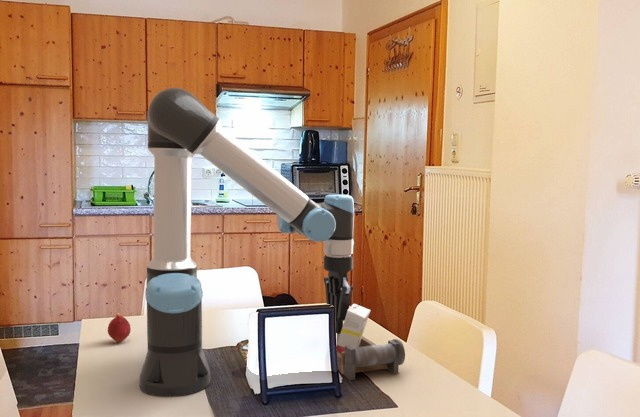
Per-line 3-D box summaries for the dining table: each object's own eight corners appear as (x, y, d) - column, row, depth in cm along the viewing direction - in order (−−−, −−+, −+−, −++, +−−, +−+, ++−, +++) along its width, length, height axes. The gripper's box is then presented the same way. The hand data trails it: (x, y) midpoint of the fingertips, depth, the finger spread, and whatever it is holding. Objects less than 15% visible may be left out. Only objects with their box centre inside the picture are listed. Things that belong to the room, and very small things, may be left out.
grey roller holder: (353, 382, 135) (353, 349, 135) (314, 352, 156) (315, 323, 155) (404, 374, 140) (405, 343, 140) (361, 346, 161) (361, 318, 161)
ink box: (351, 362, 149) (365, 317, 147) (332, 355, 150) (346, 310, 148) (358, 351, 157) (371, 309, 155) (340, 344, 158) (353, 302, 156)
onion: (134, 339, 165) (133, 310, 164) (125, 346, 159) (124, 316, 159) (113, 338, 166) (113, 310, 165) (104, 345, 160) (103, 315, 159)
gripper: (363, 258, 152) (361, 350, 154) (340, 250, 163) (339, 335, 166) (335, 259, 149) (334, 353, 151) (315, 251, 160) (313, 338, 163)
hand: (336, 344), depth 158 cm, fingers closed
